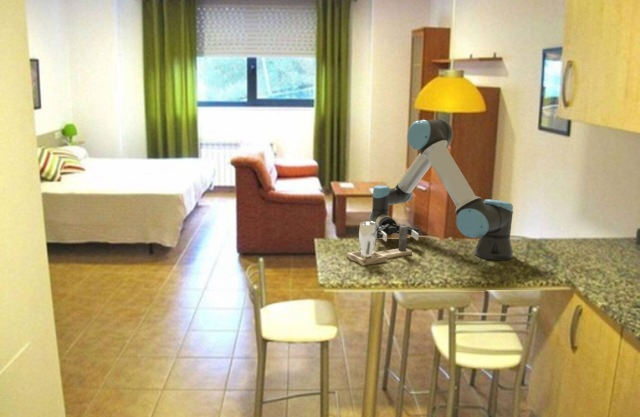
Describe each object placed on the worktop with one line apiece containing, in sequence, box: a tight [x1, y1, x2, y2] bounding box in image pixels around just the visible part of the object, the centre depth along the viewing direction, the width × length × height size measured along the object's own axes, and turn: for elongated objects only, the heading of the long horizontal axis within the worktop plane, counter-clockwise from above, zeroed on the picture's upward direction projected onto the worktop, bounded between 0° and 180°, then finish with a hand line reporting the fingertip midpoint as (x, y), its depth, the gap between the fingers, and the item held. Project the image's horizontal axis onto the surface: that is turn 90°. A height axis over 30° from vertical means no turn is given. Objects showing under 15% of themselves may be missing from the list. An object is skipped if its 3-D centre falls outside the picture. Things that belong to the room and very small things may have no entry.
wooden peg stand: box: [346, 225, 413, 266], centre depth 240 cm, size 11×27×12 cm, turn 122°
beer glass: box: [358, 220, 378, 259], centre depth 236 cm, size 7×7×15 cm
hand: (402, 237), depth 246 cm, fingers open, 13 cm apart
